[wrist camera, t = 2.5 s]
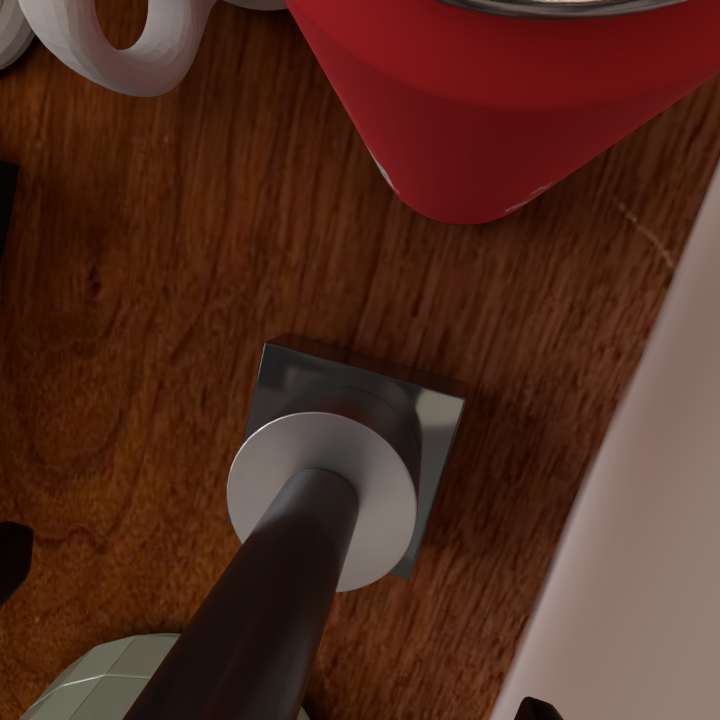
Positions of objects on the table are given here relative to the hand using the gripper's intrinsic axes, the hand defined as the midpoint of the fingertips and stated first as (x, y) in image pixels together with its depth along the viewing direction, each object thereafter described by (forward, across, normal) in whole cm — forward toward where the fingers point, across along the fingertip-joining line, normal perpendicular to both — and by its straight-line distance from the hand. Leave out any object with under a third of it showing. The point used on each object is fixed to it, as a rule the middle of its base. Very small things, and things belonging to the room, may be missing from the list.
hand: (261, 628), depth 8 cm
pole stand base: (+9, 0, 0) cm, 9 cm away
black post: (+7, 0, 0) cm, 7 cm away
